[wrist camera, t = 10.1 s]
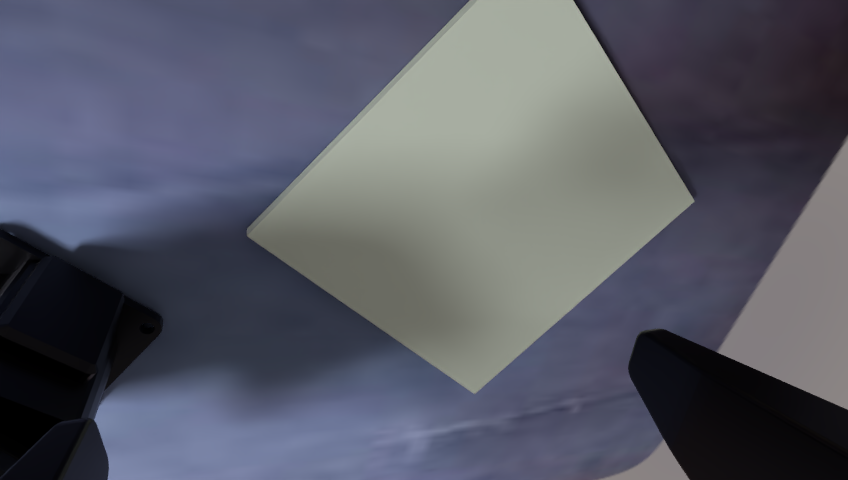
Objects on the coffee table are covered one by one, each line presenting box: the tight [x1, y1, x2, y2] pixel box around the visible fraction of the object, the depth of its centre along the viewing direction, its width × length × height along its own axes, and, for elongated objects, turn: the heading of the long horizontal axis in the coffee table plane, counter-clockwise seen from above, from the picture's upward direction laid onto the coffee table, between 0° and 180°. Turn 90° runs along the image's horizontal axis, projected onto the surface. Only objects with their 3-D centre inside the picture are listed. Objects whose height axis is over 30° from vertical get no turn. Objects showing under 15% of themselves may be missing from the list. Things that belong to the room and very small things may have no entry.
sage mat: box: [247, 0, 694, 394], centre depth 22 cm, size 14×14×1 cm
